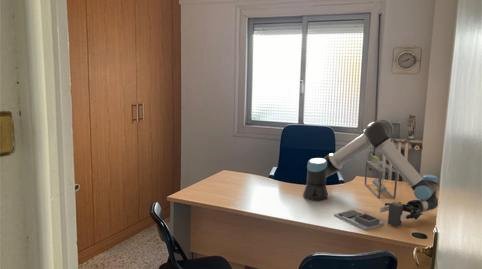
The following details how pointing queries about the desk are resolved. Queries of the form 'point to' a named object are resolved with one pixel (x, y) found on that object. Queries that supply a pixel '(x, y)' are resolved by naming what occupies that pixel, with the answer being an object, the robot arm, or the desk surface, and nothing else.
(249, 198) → the desk surface
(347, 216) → the charging dock
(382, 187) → the newton's cradle
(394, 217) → the brick
